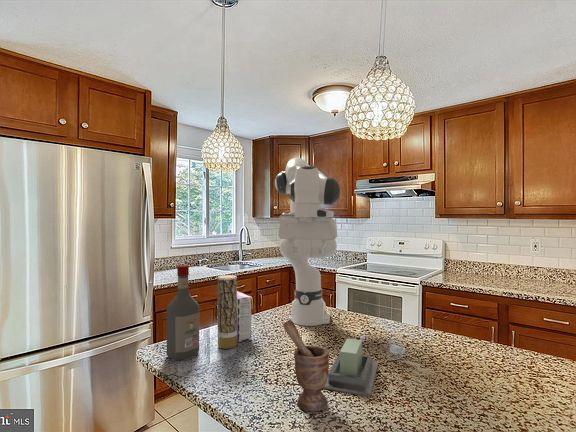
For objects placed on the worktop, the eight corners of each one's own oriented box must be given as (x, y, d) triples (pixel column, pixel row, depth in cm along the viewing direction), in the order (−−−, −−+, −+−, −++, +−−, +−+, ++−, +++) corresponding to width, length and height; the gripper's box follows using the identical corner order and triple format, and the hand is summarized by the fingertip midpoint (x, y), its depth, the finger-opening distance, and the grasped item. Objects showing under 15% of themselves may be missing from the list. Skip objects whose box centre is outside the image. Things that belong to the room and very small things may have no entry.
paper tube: (232, 350, 118) (232, 278, 118) (214, 349, 120) (214, 278, 120) (239, 343, 125) (239, 275, 125) (222, 342, 126) (222, 274, 127)
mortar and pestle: (280, 412, 80) (280, 327, 81) (284, 393, 89) (283, 317, 89) (329, 414, 79) (329, 329, 80) (328, 395, 88) (328, 318, 88)
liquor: (202, 354, 115) (202, 265, 115) (178, 363, 108) (178, 268, 108) (186, 347, 121) (186, 263, 121) (163, 355, 114) (163, 266, 114)
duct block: (340, 380, 95) (339, 351, 95) (347, 364, 105) (347, 338, 105) (356, 382, 93) (356, 353, 93) (362, 366, 103) (361, 340, 103)
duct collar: (336, 359, 111) (336, 349, 111) (378, 365, 106) (377, 354, 106) (321, 388, 92) (321, 376, 92) (370, 396, 87) (370, 383, 87)
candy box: (223, 332, 137) (223, 291, 138) (236, 329, 141) (236, 289, 141) (237, 342, 126) (237, 298, 126) (252, 339, 129) (252, 296, 129)
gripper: (275, 212, 117) (275, 252, 117) (334, 212, 110) (334, 254, 110) (282, 212, 123) (282, 251, 123) (338, 212, 116) (338, 252, 116)
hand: (307, 252), depth 116 cm, fingers open, 8 cm apart
